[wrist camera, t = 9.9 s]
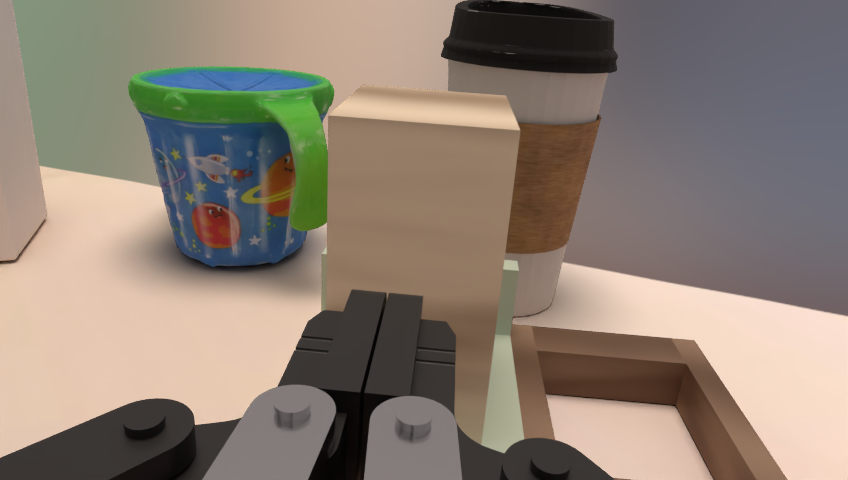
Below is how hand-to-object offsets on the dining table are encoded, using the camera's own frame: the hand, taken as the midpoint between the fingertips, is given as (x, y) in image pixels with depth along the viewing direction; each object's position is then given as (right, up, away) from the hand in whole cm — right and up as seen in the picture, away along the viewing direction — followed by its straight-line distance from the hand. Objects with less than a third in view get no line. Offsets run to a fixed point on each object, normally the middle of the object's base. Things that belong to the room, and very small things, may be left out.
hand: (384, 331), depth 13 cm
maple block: (0, -3, +10) cm, 10 cm away
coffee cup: (+5, -1, +22) cm, 22 cm away
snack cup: (-10, +1, +25) cm, 27 cm away
